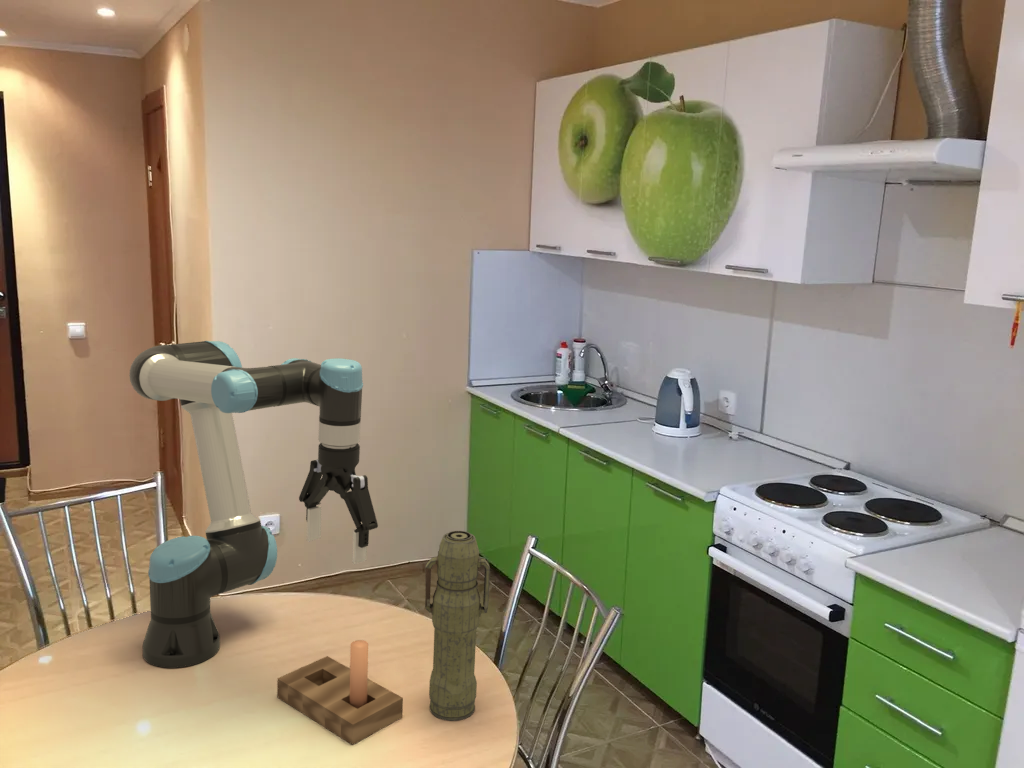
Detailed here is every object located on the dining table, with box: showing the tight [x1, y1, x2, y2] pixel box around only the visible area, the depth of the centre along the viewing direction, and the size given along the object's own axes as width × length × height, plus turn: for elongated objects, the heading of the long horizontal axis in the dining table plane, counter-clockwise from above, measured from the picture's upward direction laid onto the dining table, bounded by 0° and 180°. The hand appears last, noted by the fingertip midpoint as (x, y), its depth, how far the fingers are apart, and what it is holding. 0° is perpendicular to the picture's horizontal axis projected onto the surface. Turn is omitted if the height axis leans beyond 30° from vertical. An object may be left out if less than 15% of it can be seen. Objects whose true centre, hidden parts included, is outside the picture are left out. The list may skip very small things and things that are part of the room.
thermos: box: [424, 530, 491, 722], centre depth 165 cm, size 9×12×35 cm
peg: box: [349, 639, 369, 709], centre depth 162 cm, size 3×3×15 cm
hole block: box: [276, 655, 404, 746], centre depth 166 cm, size 22×12×4 cm, turn 51°
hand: (335, 550), depth 167 cm, fingers open, 13 cm apart
